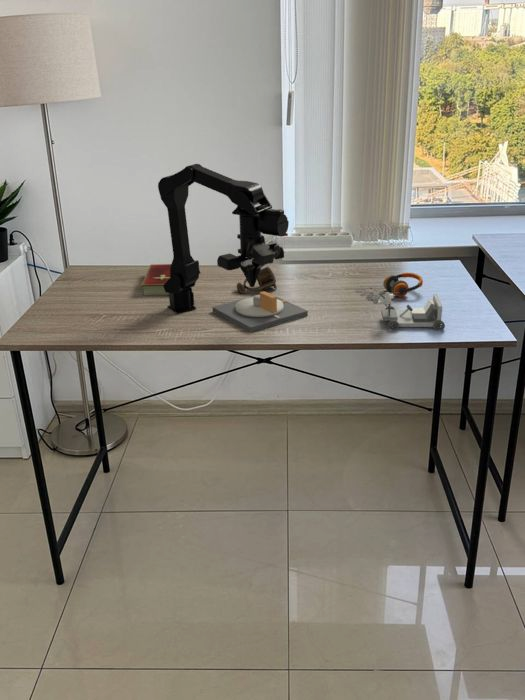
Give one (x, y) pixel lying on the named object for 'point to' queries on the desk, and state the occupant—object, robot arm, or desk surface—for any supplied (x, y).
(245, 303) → the dial
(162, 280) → the hardcover book
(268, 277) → the brown curved looped piece
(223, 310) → the dial board
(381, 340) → the desk surface
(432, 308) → the toy car
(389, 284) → the headphones
